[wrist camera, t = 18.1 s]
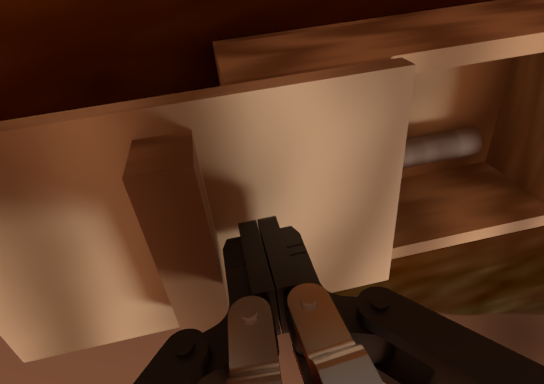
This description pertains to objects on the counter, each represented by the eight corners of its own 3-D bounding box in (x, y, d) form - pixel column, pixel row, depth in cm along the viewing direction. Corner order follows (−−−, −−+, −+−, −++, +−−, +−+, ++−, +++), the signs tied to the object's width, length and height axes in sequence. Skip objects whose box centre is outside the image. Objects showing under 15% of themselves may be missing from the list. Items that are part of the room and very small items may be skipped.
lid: (31, 343, 18) (2, 419, 15) (-132, 142, 12) (-233, 206, 9) (379, 266, 20) (412, 319, 17) (401, 57, 14) (459, 87, 11)
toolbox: (242, 211, 25) (259, 288, 19) (212, 41, 19) (224, 82, 13) (485, 163, 27) (563, 220, 21) (531, -5, 21) (659, 13, 15)
